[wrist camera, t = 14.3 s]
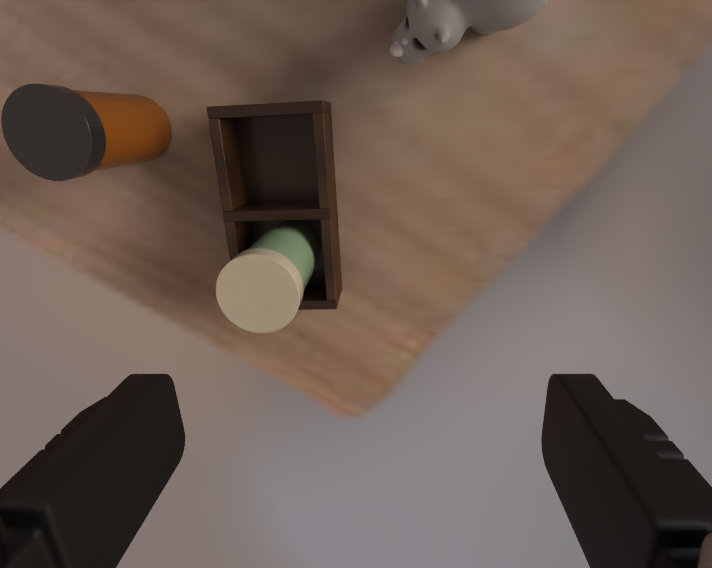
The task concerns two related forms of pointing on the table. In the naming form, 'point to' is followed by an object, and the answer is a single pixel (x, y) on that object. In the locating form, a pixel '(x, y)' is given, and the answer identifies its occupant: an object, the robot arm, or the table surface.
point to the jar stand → (280, 181)
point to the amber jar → (81, 130)
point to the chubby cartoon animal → (454, 23)
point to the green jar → (269, 277)
